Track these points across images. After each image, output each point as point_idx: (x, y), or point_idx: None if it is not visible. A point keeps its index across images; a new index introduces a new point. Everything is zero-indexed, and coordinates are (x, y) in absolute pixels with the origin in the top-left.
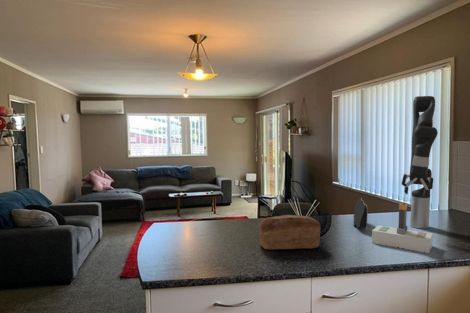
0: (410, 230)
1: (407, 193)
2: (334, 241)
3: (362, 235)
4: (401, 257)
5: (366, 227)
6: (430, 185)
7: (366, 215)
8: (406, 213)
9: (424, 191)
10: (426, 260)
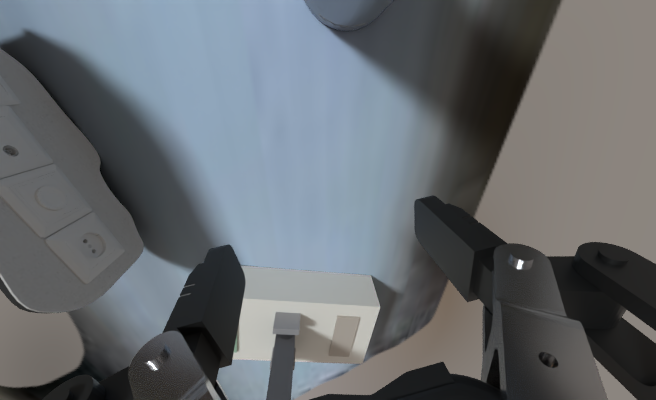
0: (310, 306)
1: (243, 287)
2: (124, 351)
3: (159, 270)
4: (299, 371)
5: (141, 249)
6: (618, 371)
7: (100, 291)
8: (290, 395)
9: (449, 264)
10: (347, 365)
